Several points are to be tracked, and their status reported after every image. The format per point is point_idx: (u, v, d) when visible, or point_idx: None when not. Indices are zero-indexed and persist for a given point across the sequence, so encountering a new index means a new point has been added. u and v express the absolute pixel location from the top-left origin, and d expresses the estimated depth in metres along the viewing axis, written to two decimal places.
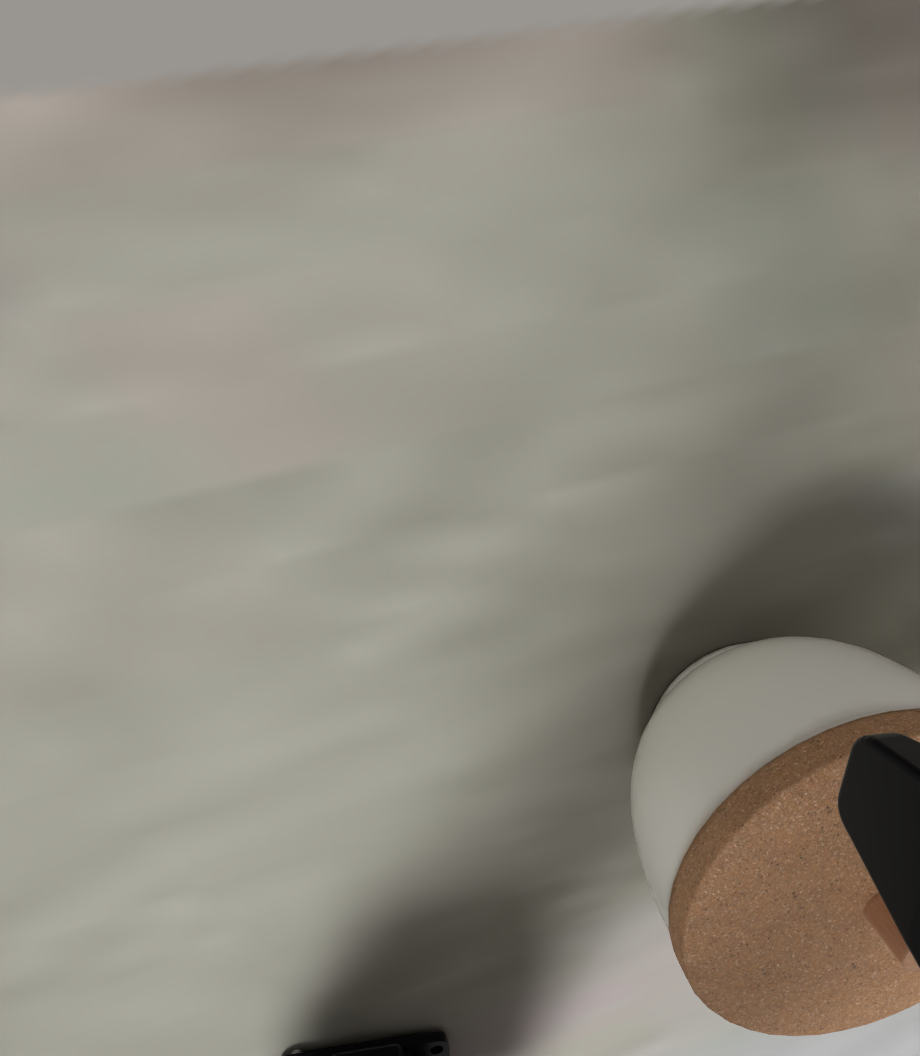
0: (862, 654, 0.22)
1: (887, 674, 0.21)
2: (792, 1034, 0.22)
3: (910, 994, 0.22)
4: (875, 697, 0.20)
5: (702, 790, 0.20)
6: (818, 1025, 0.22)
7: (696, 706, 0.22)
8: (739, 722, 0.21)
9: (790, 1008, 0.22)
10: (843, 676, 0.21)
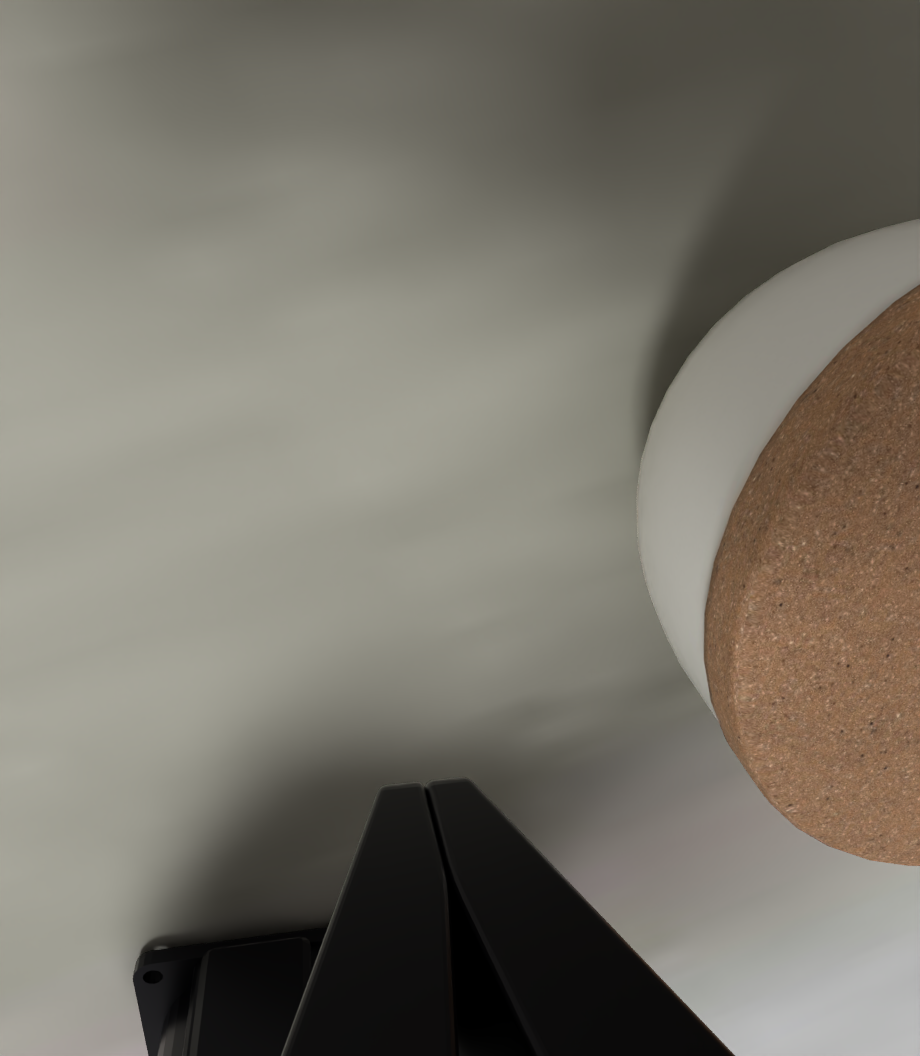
0: None
1: None
2: (907, 861, 0.13)
3: None
4: None
5: (767, 394, 0.11)
6: None
7: (747, 311, 0.13)
8: (830, 285, 0.12)
9: (910, 807, 0.13)
10: None
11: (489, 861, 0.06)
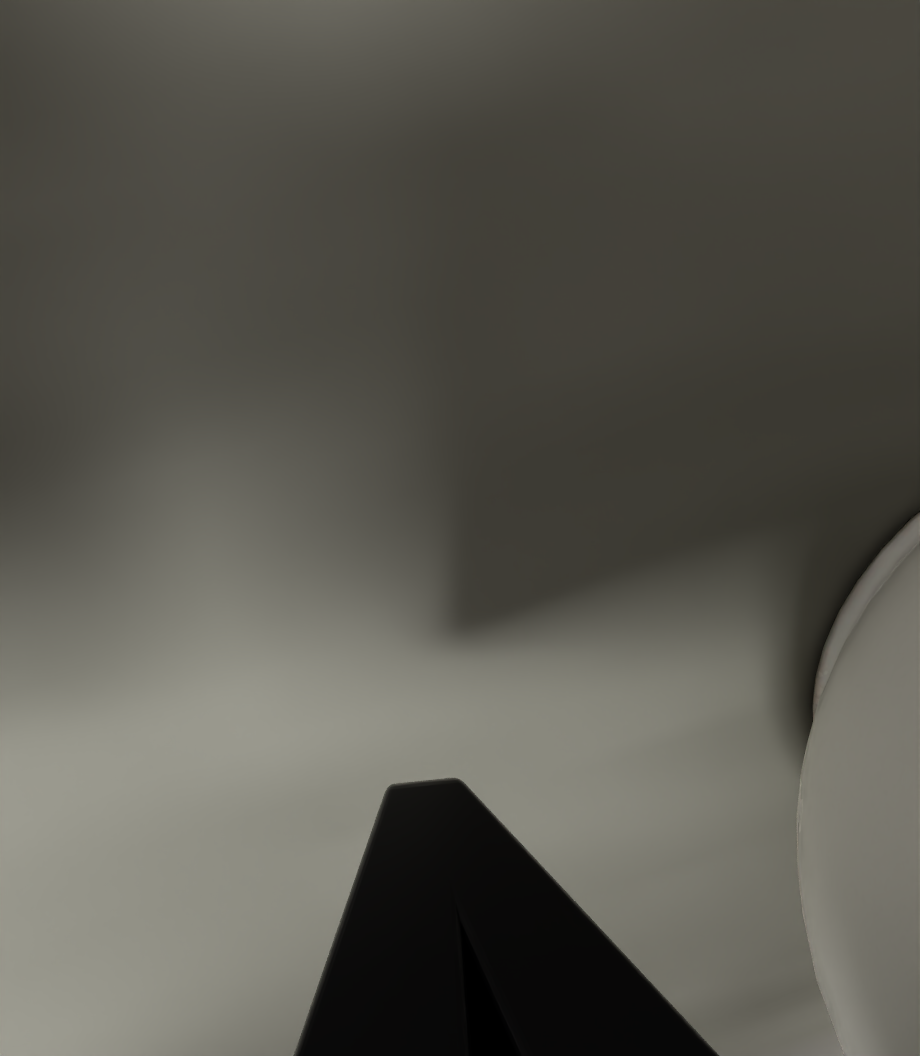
0: None
1: None
2: None
3: None
4: None
5: None
6: None
7: None
8: None
9: None
10: None
11: (478, 862, 0.06)
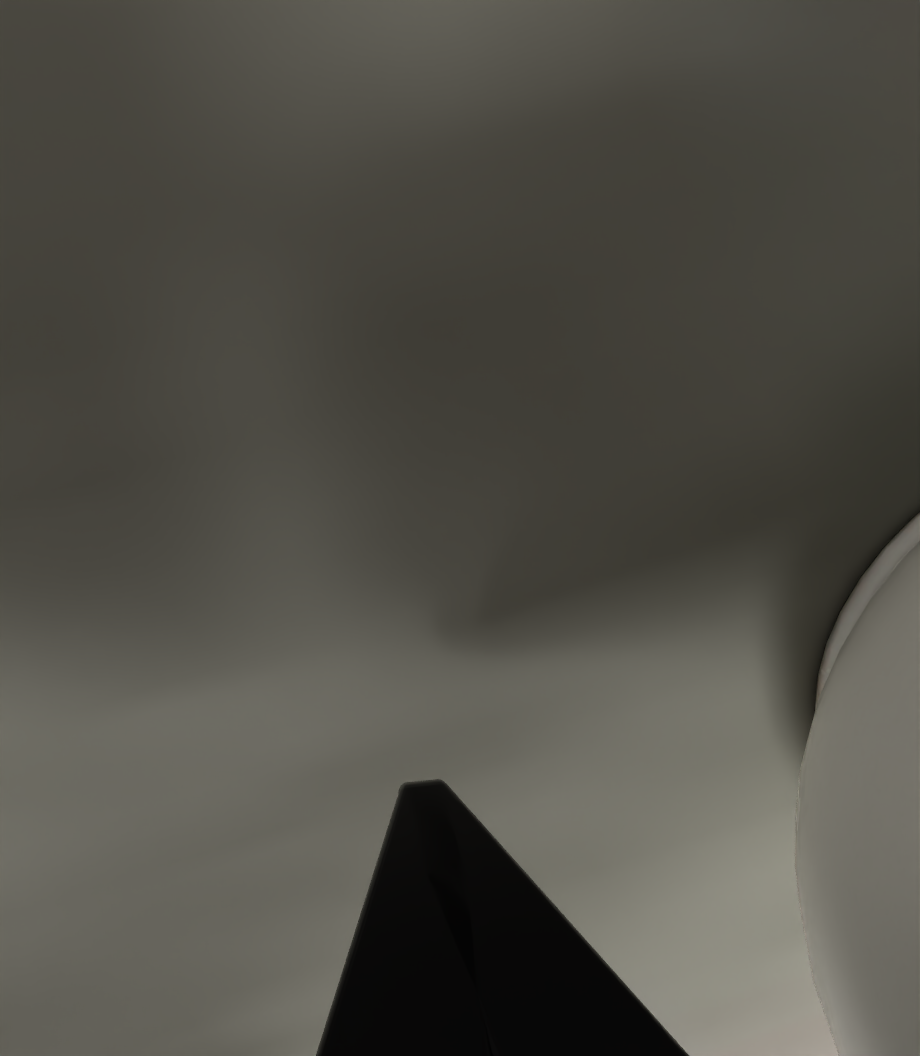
0: None
1: None
2: None
3: None
4: None
5: None
6: None
7: None
8: None
9: None
10: None
11: (458, 865, 0.06)
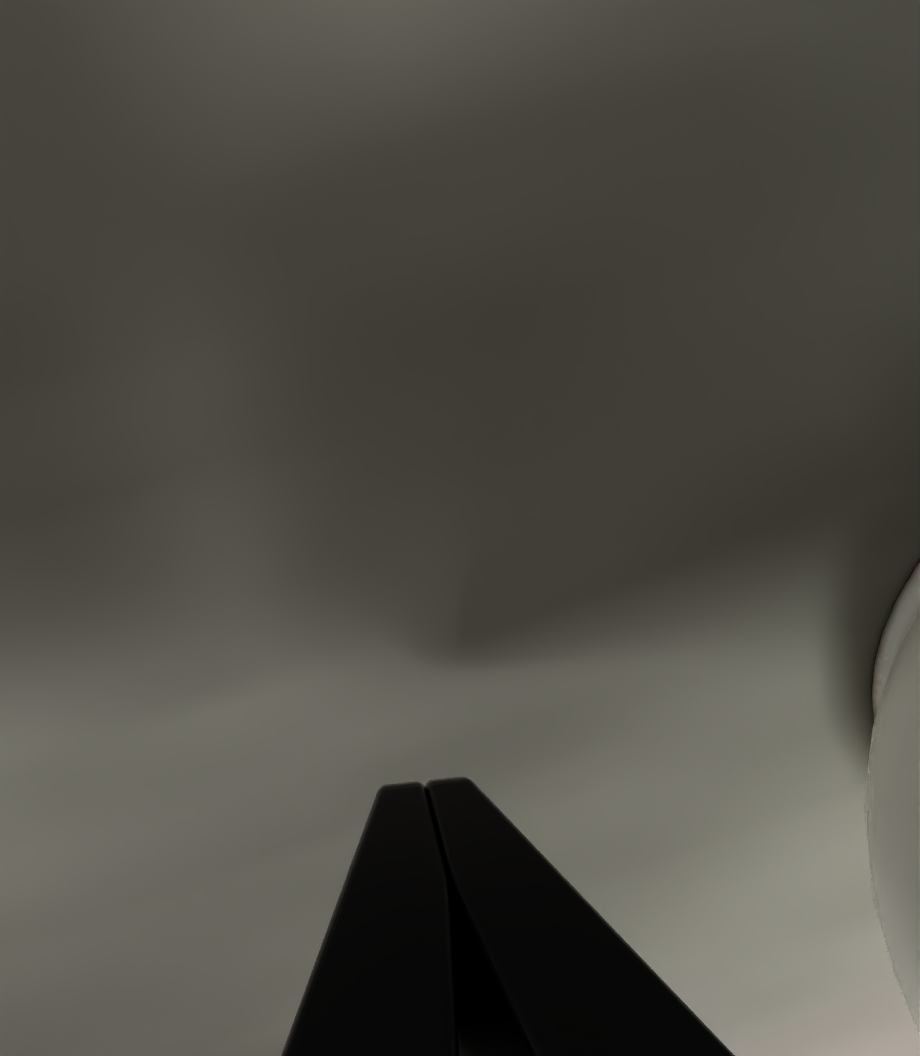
0: None
1: None
2: None
3: None
4: None
5: None
6: None
7: None
8: None
9: None
10: None
11: (489, 861, 0.06)
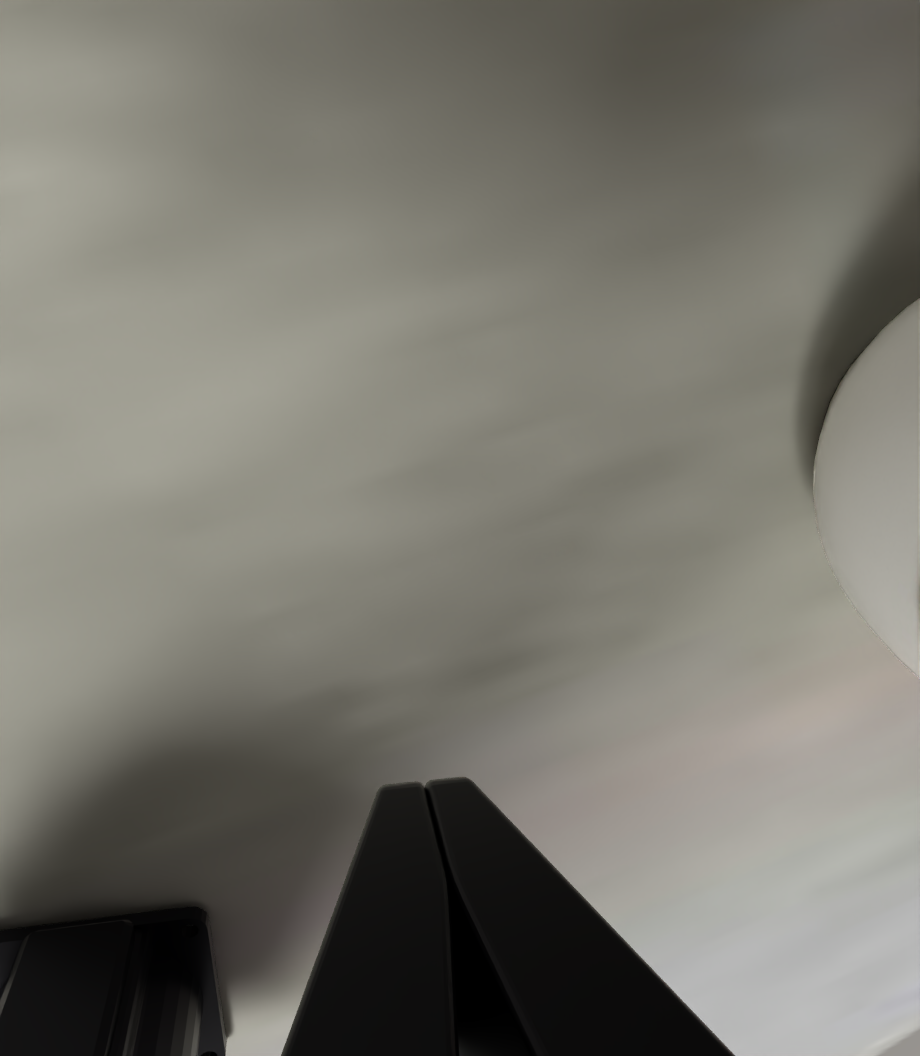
0: None
1: None
2: None
3: None
4: None
5: None
6: None
7: None
8: None
9: None
10: None
11: (489, 861, 0.06)
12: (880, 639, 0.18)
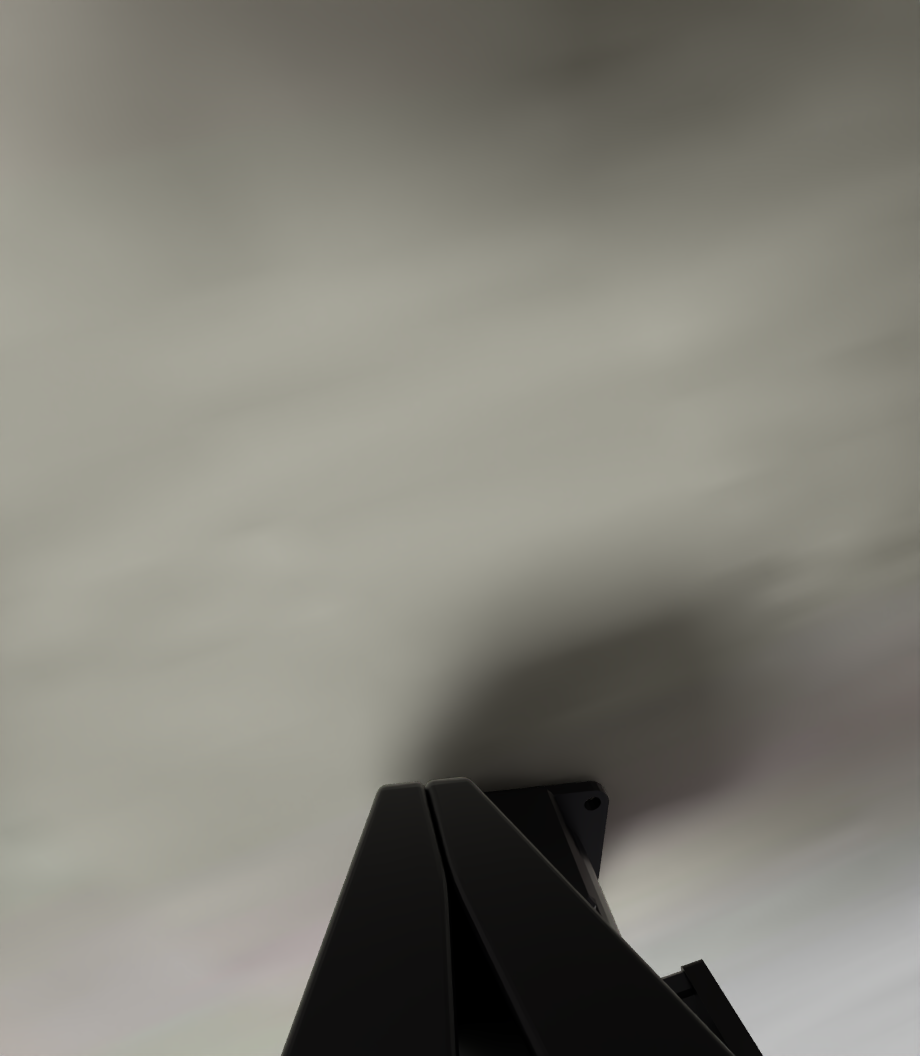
0: None
1: None
2: None
3: None
4: None
5: None
6: None
7: None
8: None
9: None
10: None
11: (489, 861, 0.06)
12: None
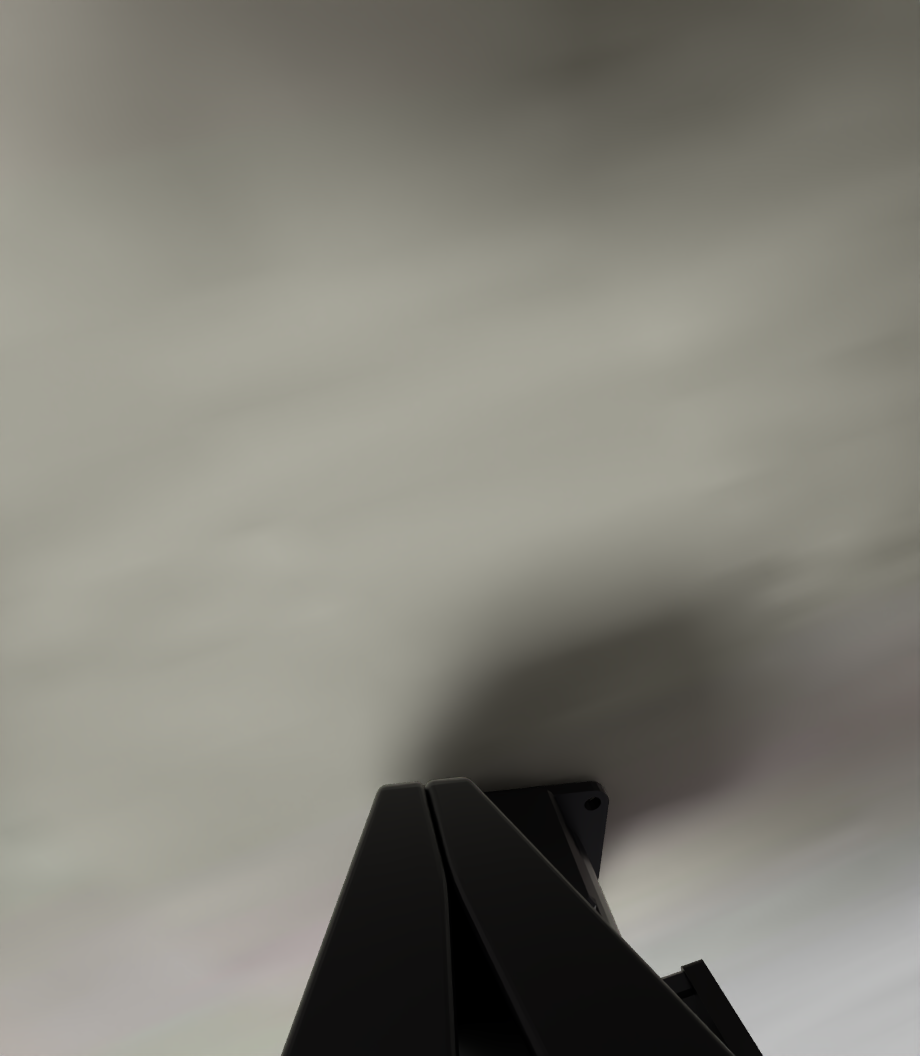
0: None
1: None
2: None
3: None
4: None
5: None
6: None
7: None
8: None
9: None
10: None
11: (489, 861, 0.06)
12: None
